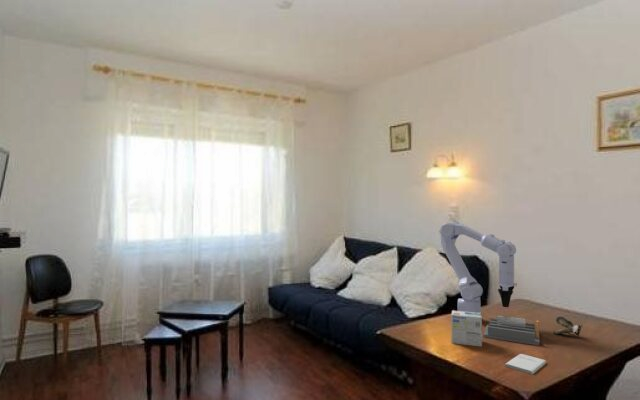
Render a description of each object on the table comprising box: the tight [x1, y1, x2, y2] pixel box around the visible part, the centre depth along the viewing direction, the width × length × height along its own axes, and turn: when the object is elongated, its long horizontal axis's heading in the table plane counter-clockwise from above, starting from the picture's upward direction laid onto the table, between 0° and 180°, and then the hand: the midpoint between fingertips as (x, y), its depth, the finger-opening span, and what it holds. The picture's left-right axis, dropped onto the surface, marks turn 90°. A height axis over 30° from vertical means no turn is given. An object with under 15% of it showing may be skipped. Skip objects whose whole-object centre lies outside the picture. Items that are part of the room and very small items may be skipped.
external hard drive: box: [504, 353, 547, 375], centre depth 131 cm, size 2×8×12 cm
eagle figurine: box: [552, 316, 583, 338], centre depth 159 cm, size 8×7×9 cm
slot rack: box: [482, 317, 540, 346], centre depth 158 cm, size 19×14×7 cm
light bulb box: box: [450, 309, 483, 347], centre depth 151 cm, size 11×7×11 cm, turn 71°
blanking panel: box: [496, 315, 526, 328], centre depth 158 cm, size 10×2×6 cm, turn 63°
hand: (506, 304), depth 168 cm, fingers open, 7 cm apart
